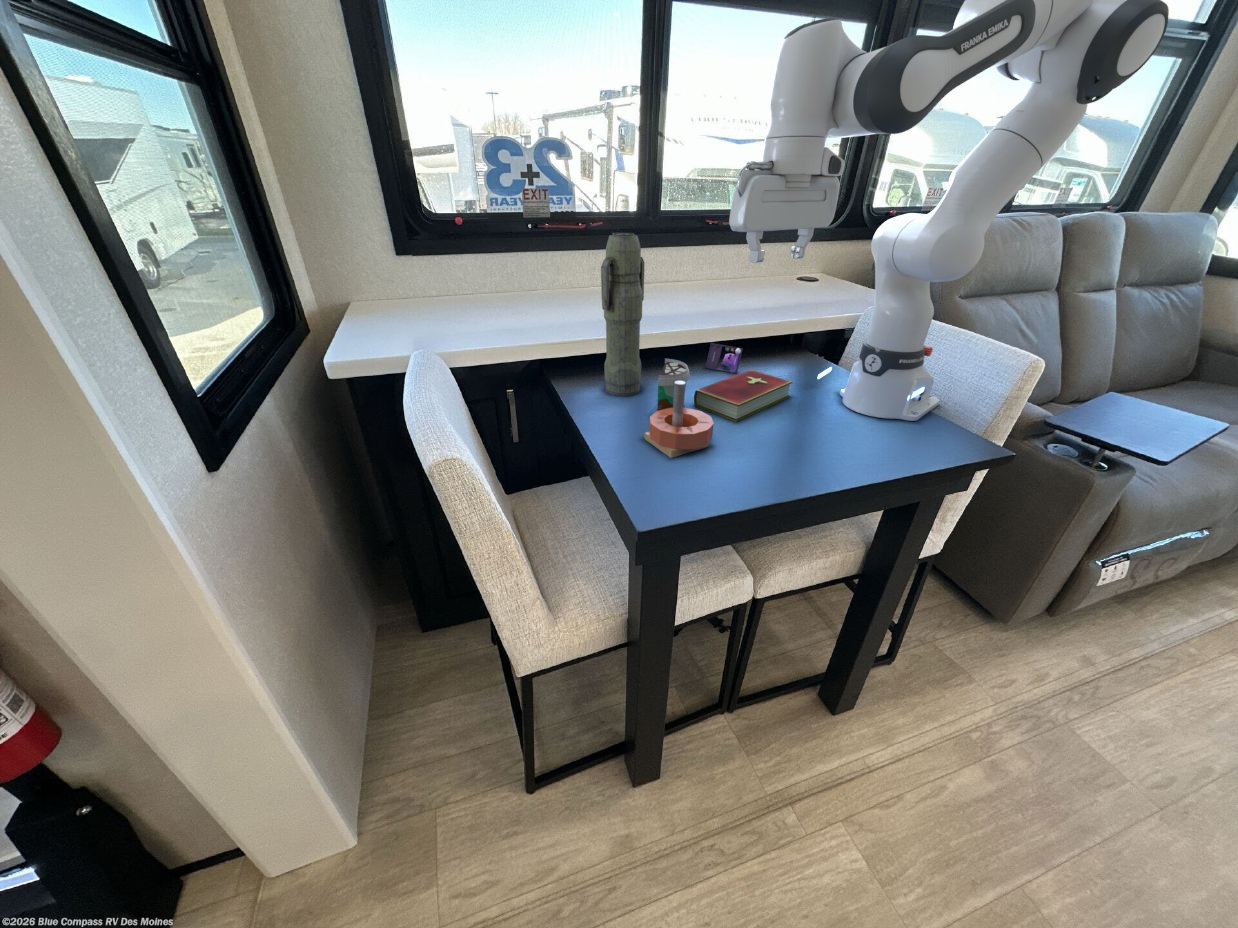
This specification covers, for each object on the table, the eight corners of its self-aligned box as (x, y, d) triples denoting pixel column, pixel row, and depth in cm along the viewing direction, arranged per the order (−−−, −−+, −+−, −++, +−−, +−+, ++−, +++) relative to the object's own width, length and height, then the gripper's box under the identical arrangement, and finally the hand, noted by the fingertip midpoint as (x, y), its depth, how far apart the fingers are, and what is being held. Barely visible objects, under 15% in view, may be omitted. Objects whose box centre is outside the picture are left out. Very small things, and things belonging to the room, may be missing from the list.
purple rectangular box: (709, 342, 132) (741, 348, 128) (716, 344, 136) (747, 349, 132) (704, 367, 133) (735, 373, 129) (711, 368, 138) (741, 374, 134)
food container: (685, 423, 103) (688, 378, 98) (656, 420, 104) (658, 376, 99) (689, 401, 114) (692, 359, 109) (663, 399, 115) (665, 357, 110)
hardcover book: (693, 405, 111) (694, 388, 109) (747, 383, 123) (749, 367, 121) (736, 422, 104) (738, 403, 101) (789, 397, 116) (792, 380, 113)
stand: (680, 429, 101) (684, 371, 94) (708, 446, 94) (715, 385, 88) (644, 439, 97) (646, 379, 90) (671, 458, 90) (674, 395, 84)
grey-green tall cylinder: (651, 386, 122) (656, 233, 104) (622, 400, 114) (622, 237, 96) (623, 378, 127) (624, 230, 109) (593, 392, 119) (589, 234, 101)
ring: (686, 417, 102) (687, 403, 100) (724, 439, 93) (726, 424, 91) (637, 430, 97) (638, 415, 95) (673, 455, 88) (674, 439, 86)
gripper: (756, 159, 67) (743, 267, 73) (852, 162, 76) (832, 258, 83) (725, 161, 71) (716, 262, 78) (819, 164, 80) (803, 254, 87)
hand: (776, 260), depth 80 cm, fingers open, 8 cm apart
